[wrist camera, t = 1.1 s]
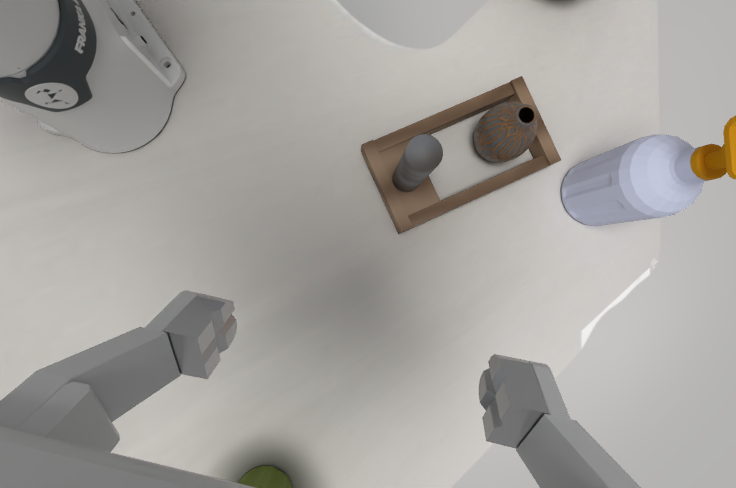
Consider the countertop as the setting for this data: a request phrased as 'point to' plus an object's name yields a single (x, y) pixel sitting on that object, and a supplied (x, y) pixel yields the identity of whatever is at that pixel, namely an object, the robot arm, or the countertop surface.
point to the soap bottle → (645, 178)
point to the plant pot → (266, 478)
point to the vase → (506, 131)
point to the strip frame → (424, 153)
